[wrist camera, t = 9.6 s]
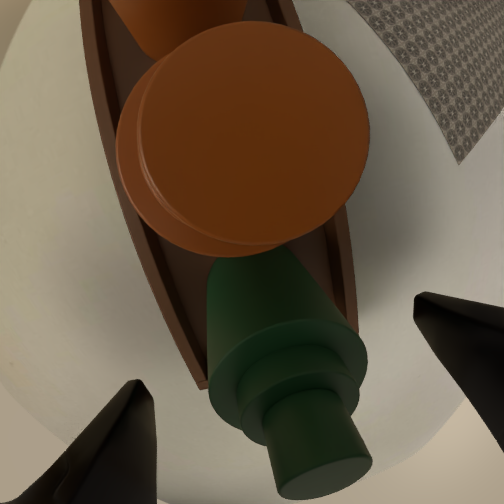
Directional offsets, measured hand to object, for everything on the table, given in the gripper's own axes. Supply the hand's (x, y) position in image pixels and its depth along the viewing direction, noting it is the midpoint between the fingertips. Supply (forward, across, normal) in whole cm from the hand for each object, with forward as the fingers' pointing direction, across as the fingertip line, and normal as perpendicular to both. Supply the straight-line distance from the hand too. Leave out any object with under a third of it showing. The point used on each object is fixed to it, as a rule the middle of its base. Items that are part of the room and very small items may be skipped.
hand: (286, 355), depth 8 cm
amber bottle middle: (+5, 0, -6) cm, 8 cm away
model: (+6, -20, -16) cm, 27 cm away
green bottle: (+5, 0, 0) cm, 5 cm away
